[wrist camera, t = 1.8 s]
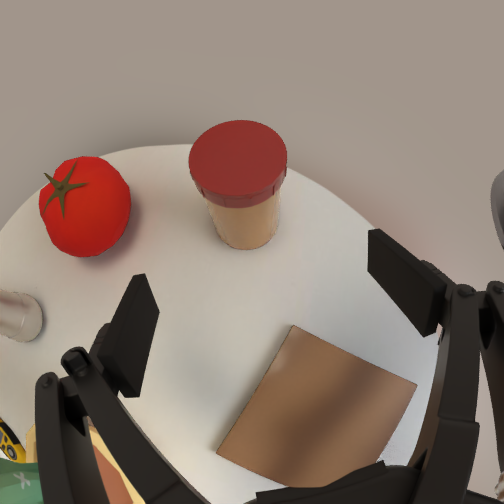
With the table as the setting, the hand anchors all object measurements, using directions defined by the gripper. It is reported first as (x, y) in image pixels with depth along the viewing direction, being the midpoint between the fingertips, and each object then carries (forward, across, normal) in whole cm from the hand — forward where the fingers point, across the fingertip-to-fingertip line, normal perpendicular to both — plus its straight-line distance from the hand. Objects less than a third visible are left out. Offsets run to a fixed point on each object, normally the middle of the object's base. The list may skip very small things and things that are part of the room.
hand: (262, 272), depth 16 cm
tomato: (+20, -18, -1) cm, 27 cm away
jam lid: (+9, 0, +5) cm, 11 cm away
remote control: (+1, -44, -20) cm, 48 cm away
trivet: (+1, +4, -20) cm, 20 cm away
